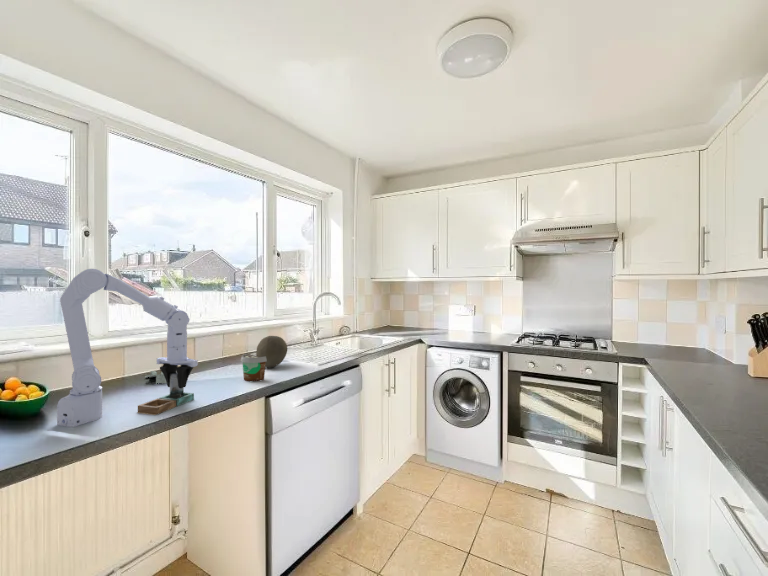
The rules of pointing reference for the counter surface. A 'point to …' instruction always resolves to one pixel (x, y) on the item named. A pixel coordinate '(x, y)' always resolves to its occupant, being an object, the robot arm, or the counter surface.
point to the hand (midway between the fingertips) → (176, 386)
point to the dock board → (163, 404)
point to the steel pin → (175, 387)
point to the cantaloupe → (272, 350)
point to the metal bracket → (161, 377)
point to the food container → (253, 367)
